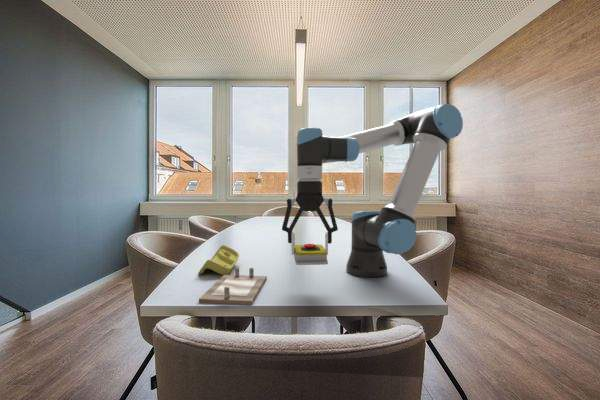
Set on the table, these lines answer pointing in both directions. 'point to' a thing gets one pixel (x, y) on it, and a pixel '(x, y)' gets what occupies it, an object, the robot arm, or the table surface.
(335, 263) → the table surface
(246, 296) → the nest plate
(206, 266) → the plastic component
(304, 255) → the emergency button
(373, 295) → the table surface
